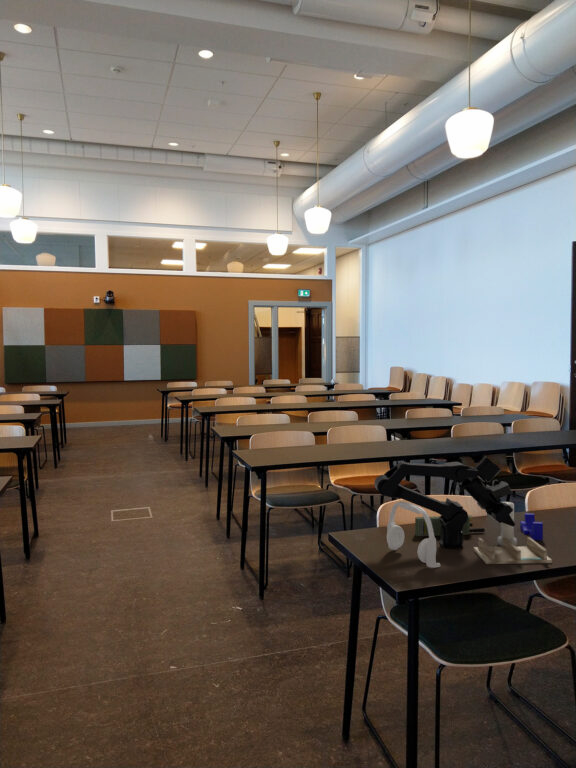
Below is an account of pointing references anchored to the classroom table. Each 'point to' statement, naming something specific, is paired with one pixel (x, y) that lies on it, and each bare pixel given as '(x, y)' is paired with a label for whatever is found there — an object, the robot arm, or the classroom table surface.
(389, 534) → the headset
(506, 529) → the white bulb knob
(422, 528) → the handheld radio
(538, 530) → the blue curved cradle
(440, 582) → the classroom table surface
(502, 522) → the robot arm
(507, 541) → the slot rack
